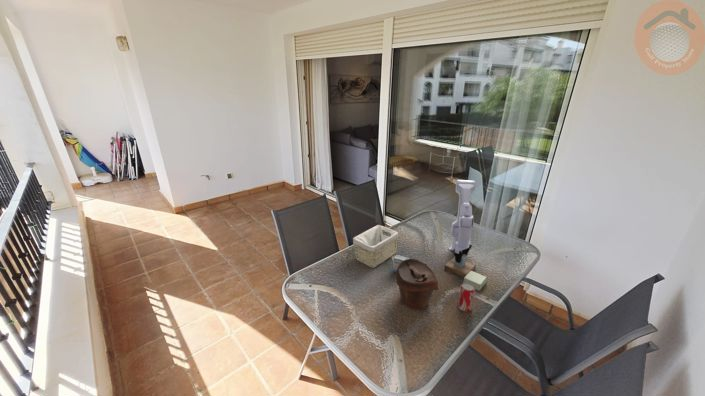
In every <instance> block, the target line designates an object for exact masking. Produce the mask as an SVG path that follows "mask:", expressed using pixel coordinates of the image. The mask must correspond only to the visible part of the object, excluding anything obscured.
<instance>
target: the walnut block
mask: <svg viewBox="0 0 705 396" xmlns="http://www.w3.org/2000/svg"><path fill="white" fill-rule="evenodd" d="M454 258H455V256H453V258H451V259H450V260H449V261H448V262H447V263H445V264H444V270H445V271H449V272H451V273H454V274H455V275H456V276H457V275H458V276H460V277H462V278H464V277H465V276H466V275H467V274H468V273H469V272H470V271H473V272H474V270H475V269H476V266H477V264H476V263H474V262H470V261H468V260H466V263H465V265H464V266H463V267H462V268H460V267H458V266H456V265H454Z"/></svg>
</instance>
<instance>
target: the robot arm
mask: <svg viewBox="0 0 705 396" xmlns="http://www.w3.org/2000/svg"><path fill="white" fill-rule="evenodd" d="M475 189H476V180H470V179H469V180H467V179H466V180H465V179H457V180H456V181H455V193H456V194H458V197H459V198H458V206H457V207H458V209H457V217H456V218H457V219H456V220H455V221H453V222H452V223H451V226H450V227H451V228H450V235H451V236H452V239H451V246H450V247H449V248H448V250H451V251H452V253H453V255H454V257H455V260H456V262H457V263H460V262H461V259H462V256H463V255H464V254H465V255H467V256H468V254H469V252H470V250H471V248H472V247H473V244H471V241H472V240H471V234H472V228H473V227H474V223H475V221H474V215H473V206H472V204H471V195H472V194H473V193H474V192H475Z"/></svg>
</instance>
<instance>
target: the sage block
mask: <svg viewBox="0 0 705 396" xmlns="http://www.w3.org/2000/svg"><path fill="white" fill-rule="evenodd" d="M486 282H487V276H485V275H482V274H480V273H478V272H476V271H474V270H473V271H470V272H469V273H468V274H467V275H466V276H465V277H463V283H470V284H472V285H473V286H474V289H475V291H481V290H482V288H483V287H484V286H485V285H486Z"/></svg>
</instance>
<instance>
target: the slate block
mask: <svg viewBox="0 0 705 396" xmlns="http://www.w3.org/2000/svg"><path fill="white" fill-rule="evenodd" d="M467 256H468V254H467V255H465V254H464V255H463V256H462V259H461V262H460V263H457V262H456V260H455V258H454V257H453V258H454V265H456V266H458V267H460V268H462V267H463V266H464V265H465V263H466V261H467Z"/></svg>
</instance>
